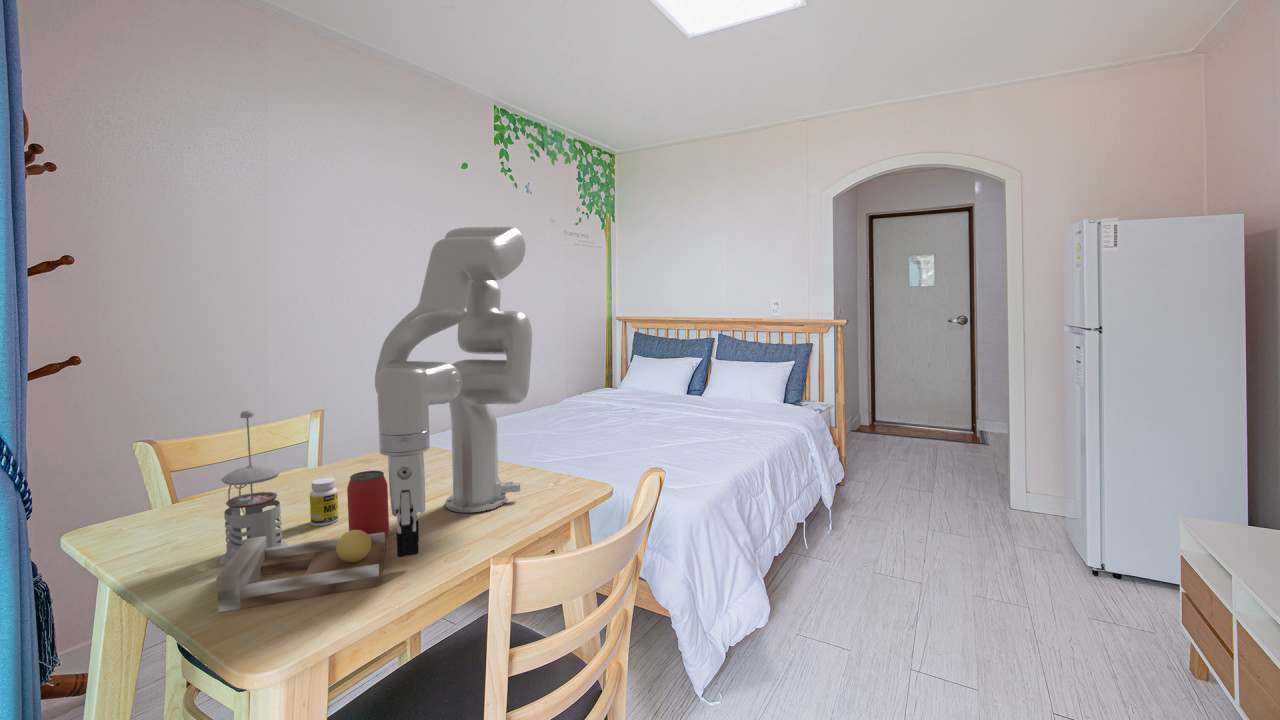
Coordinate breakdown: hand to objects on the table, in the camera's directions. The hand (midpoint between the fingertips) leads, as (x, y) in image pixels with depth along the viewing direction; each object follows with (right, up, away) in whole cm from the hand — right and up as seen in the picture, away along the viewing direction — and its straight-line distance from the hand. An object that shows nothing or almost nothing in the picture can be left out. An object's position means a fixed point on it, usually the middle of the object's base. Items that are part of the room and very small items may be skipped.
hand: (408, 548), depth 89 cm
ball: (-7, +2, -3) cm, 8 cm away
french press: (-29, -2, +4) cm, 29 cm away
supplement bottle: (-24, -1, +17) cm, 30 cm away
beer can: (-11, -2, +10) cm, 15 cm away
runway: (-13, -3, -5) cm, 14 cm away
